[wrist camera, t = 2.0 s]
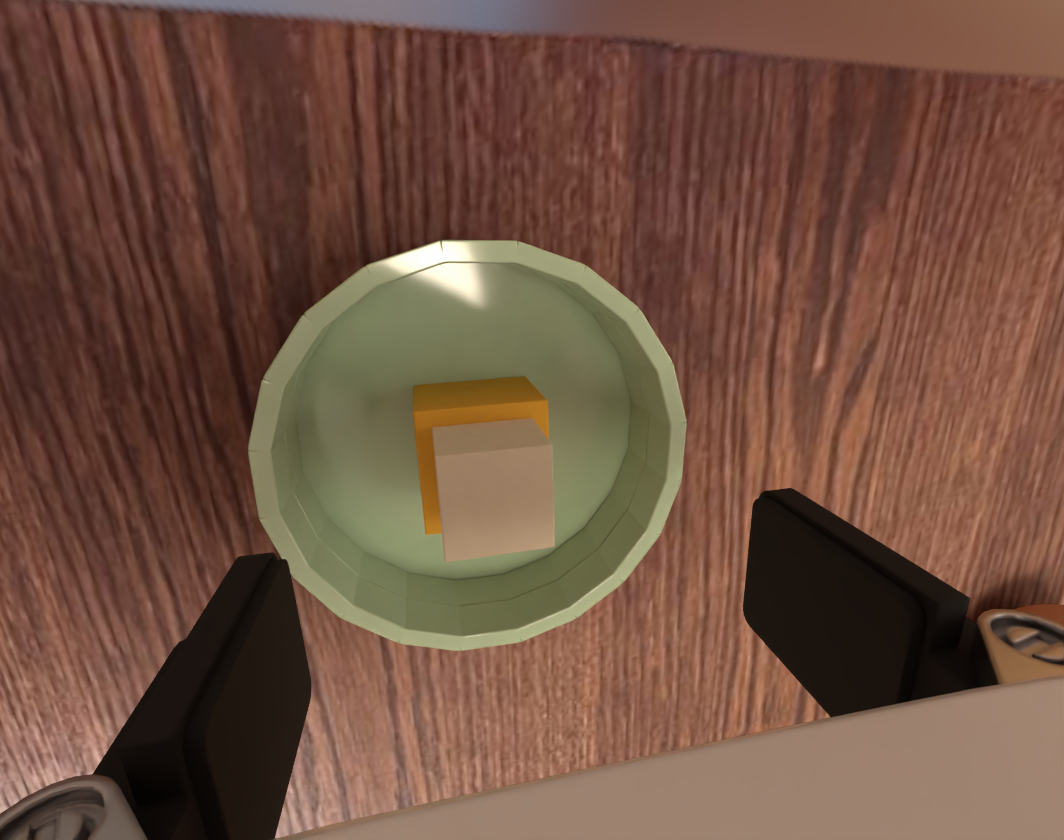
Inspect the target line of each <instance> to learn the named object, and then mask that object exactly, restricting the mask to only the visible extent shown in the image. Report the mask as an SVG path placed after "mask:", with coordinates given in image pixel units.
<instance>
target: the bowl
mask: <svg viewBox="0 0 1064 840" xmlns="http://www.w3.org/2000/svg"><path fill="white" fill-rule="evenodd" d="M523 376H525V377H526V378H527V379H528V380H529V381H530V382H531V383H532V384H533V385H534V386H535V387H536V388H537V389H538V390H539V392H540V393H541V394H542V395H543V396H544V397H545V398H546V399H547V400H548V417H549V441H550V443H551V444H552V449H553V490H554V532H555V546H554V547H551V548H544V549H537V550H530V551H523V552H515V553H508V554H501V555H494V556H487V557H480V558H473V559H466V560H459V561H452V562H445V561H444V551H443V540H442V533H440V534H432V535H426V533H425V525H424V515H423V506H422V496H421V487H420V477H419V468H418V458H417V449H416V439H415V430H414V420H413V387H414V385H422V384H435V383H447V382H460V381H473V380H485V379H498V378H511V377H523ZM685 436H686V417H685V412H684V408H683V404H682V399H681V395H680V391H679V386H678V382H677V378H676V373H675V369H674V365H673V363H672V360H671V358H670V356H669V355H668V353H667V352H666V350H665V348H664V347H663V345H662V344H661V342H660V340H659V339H658V337H657V336H656V334H655V332H654V331H653V329H652V327H651V326H650V324H649V323H648V321H647V319H646V318H645V316H644V315H643V313H642V311H641V310H640V309H639V308H638V306H637V305H635V304H634V303H633V302H632V301H630V300H629V299H628V298H627V297H625V296H624V295H623V294H622V293H620V292H619V291H618V290H617V289H616V288H614V287H613V286H612V285H611V284H609V283H608V282H607V281H606V280H604V279H603V278H602V277H601V276H599V275H598V274H597V273H596V272H594V271H593V270H592V269H591V268H589V267H588V266H585V265H584V264H583V263H580V262H577V261H574V260H571V259H568V258H566V257H563V256H560V255H557V254H554V253H552V252H549V251H546V250H543V249H540V248H537V247H535V246H532V245H529V244H526V243H523V242H520V241H518V242H517V241H516V240H441V241H435V242H432V243H429V244H426V245H423V246H421V247H418V248H415V249H412V250H409V251H406V252H403V253H400V254H397V255H394V256H391V257H388V258H385V259H382V260H379V261H376V262H373V263H370V264H367V265H366V266H365V267H362V268H361V269H360V270H358V271H357V272H356V273H354V274H353V275H352V276H351V277H349V278H348V279H347V280H345V281H344V282H343V283H342V284H340V285H339V286H338V287H336V288H335V289H334V290H333V291H331V292H330V293H329V294H328V295H326V296H325V297H324V298H322V299H321V300H320V301H319V302H317V303H316V304H315V305H313V306H312V307H311V308H310V309H308V310H307V311H306V312H305V313H304V315H302V316H301V317H300V319H299V320H298V322H297V324H296V325H295V327H294V328H293V330H292V332H291V333H290V335H289V336H288V338H287V340H286V341H285V343H284V344H283V346H282V348H281V349H280V351H279V352H278V354H277V356H276V357H275V359H274V360H273V362H272V363H271V365H270V367H269V368H268V370H267V371H266V373H265V375H264V376H263V380H262V381H261V385H260V390H259V395H258V400H257V405H256V410H255V415H254V419H253V424H252V429H251V434H250V439H249V444H248V450H249V451H248V457H249V463H250V469H251V475H252V481H253V487H254V493H255V499H256V505H257V511H258V516H259V518H260V522H261V523H262V525H263V527H264V529H265V530H266V532H267V534H268V536H269V537H270V539H271V541H272V543H273V544H274V546H275V548H276V550H277V551H278V553H279V555H280V557H281V558H282V559H286V560H287V562H288V565H289V569H290V574H291V575H293V576H292V577H293V578H294V579H295V580H296V581H298V582H299V583H300V584H301V585H302V586H303V587H304V588H306V589H307V590H308V591H309V592H310V593H311V594H313V595H314V596H315V597H316V598H317V599H318V600H319V601H321V602H322V603H323V604H324V605H325V606H326V607H328V608H329V609H330V610H331V611H332V612H333V613H334V614H336V615H337V616H338V617H339V618H342V619H343V620H345V621H348V622H350V623H352V624H355V625H357V626H359V627H362V628H364V629H366V630H369V631H371V632H373V633H376V634H378V635H380V636H383V637H385V638H387V639H390V640H392V641H394V642H396V643H398V642H399V644H405V645H413V646H421V647H429V648H438V649H446V650H454V651H460V650H461V651H464V650H471V649H478V648H485V647H492V646H499V645H506V644H513V643H519V642H520V641H521V642H522V641H525V640H527V639H530V638H532V637H534V636H537V635H539V634H541V633H544V632H546V631H549V630H551V629H553V628H556V627H558V626H560V625H563V624H565V623H568V622H570V621H572V620H574V619H575V617H576V618H578V617H579V616H581V615H582V614H583V613H585V612H586V611H587V610H588V609H590V608H591V607H592V606H594V605H595V604H596V603H598V602H599V601H600V600H602V599H603V598H604V597H605V596H607V595H608V594H609V593H611V592H612V591H613V590H615V589H616V588H617V587H619V586H620V585H621V584H622V583H623V582H624V581H625V580H626V579H627V578H628V576H629V575H630V574H631V572H632V571H633V570H634V569H635V567H636V566H637V565H638V563H639V562H640V561H641V559H642V558H643V557H644V556H645V554H646V553H647V552H648V550H649V549H650V548H651V546H652V545H653V544H654V543H655V541H656V540H657V539H658V537H659V536H658V535H660V534H661V531H662V529H663V526H664V524H665V522H666V519H667V517H668V514H669V512H670V509H671V507H672V504H673V502H674V499H675V497H676V494H677V492H678V489H679V487H680V484H681V480H682V470H683V458H684V447H685Z"/></svg>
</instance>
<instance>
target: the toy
mask: <svg viewBox="0 0 1064 840" xmlns="http://www.w3.org/2000/svg"><path fill="white" fill-rule="evenodd" d="M413 420H414V430H415V439H416V449H417V458H418V468H419V477H420V487H421V496H422V506H423V515H424V525H425V533H426V535H432V534H440V533H442V540H443V551H444V561H445V562H452V561H459V560H466V559H473V558H480V557H487V556H494V555H501V554H508V553H515V552H523V551H530V550H537V549H544V548H551V547H554V546H555V532H554V490H553V449H552V444H551V443H550V441H549V417H548V400H547V399H546V398H545V397H544V396H543V395H542V394H541V393H540V392H539V390H538V389H537V388H536V387H535V386H534V385H533V384H532V383H531V382H530V381H529V380H528V379H527V378H526V377H525V376H523V377H511V378H498V379H485V380H473V381H460V382H447V383H435V384H422V385H414V387H413Z"/></svg>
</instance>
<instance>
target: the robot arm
mask: <svg viewBox="0 0 1064 840" xmlns="http://www.w3.org/2000/svg"><path fill="white" fill-rule="evenodd" d="M969 602H970V598H969V597H967V596H966V595H964V594H963V593H961V592H959V591H958V590H956V589H954V588H953V587H951V586H950V585H948V584H946V583H945V582H943V581H942V580H940V579H938V578H937V577H935V576H933V575H932V574H930V573H929V572H927V571H925V570H924V569H922V568H920V567H919V566H917V565H916V564H914V563H912V562H911V561H909V560H908V559H906V558H904V557H903V556H901V555H899V554H898V553H896V552H895V551H893V550H891V549H890V548H888V547H886V546H885V545H883V544H882V543H880V542H878V541H877V540H875V539H874V538H872V537H870V536H869V535H867V534H865V533H864V532H862V531H861V530H859V529H857V528H856V527H854V526H852V525H851V524H849V523H848V522H846V521H844V520H843V519H841V518H840V517H838V516H836V515H835V514H833V513H831V512H830V511H828V510H827V509H825V508H823V507H822V506H820V505H818V504H817V503H815V502H814V501H812V500H810V499H809V498H807V497H806V496H804V495H802V494H801V493H799V492H797V491H796V490H794V489H791V488H787V489H779V490H771V491H764V492H763V493H761V495H760V497H759V499H757V500H755V502H754V503H753V508H752V519H751V529H750V540H749V550H748V560H747V571H746V581H745V591H744V602H743V612H744V616H745V619H746V621H747V623H748V624H749V626H750V627H751V628H752V629H753V630H754V631H755V633H756V634H757V635H758V636H759V637H760V638H761V639H762V640H763V642H764V643H765V644H766V645H767V646H768V647H769V648H770V649H771V651H772V652H773V653H774V654H775V655H776V656H777V657H778V658H779V659H780V661H781V662H782V663H783V664H784V665H785V666H786V667H787V668H788V670H789V671H790V672H791V673H792V674H793V675H794V676H795V677H796V679H797V680H798V681H799V682H800V683H801V684H802V685H803V686H804V687H805V689H806V690H807V691H808V692H809V693H810V694H811V695H812V696H813V698H814V699H815V700H816V701H817V702H818V703H819V704H820V705H821V707H822V708H823V709H824V710H825V711H826V712H827V713H828V714H829V716H830V717H831V718H826V719H821V720H816V721H811V722H806V723H801V724H796V725H791V726H787V727H782V728H777V729H772V730H767V731H762V732H758V733H753V734H748V735H743V736H738V737H734V738H729V739H724V740H719V741H715V742H710V743H705V744H700V745H696V746H691V747H686V748H681V749H677V750H672V751H667V752H662V753H658V754H653V755H648V756H644V757H639V758H634V759H629V760H625V761H620V762H615V763H611V764H606V765H601V766H596V767H592V768H587V769H582V770H578V771H573V772H569V773H564V774H559V775H555V776H550V777H546V778H541V779H537V780H532V781H527V782H523V783H518V784H514V785H509V786H504V787H500V788H495V789H491V790H486V791H481V792H477V793H472V794H468V795H463V796H458V797H454V798H449V799H445V800H440V801H436V802H431V803H426V804H422V805H417V806H413V807H408V808H404V809H399V810H395V811H390V812H386V813H381V814H377V815H372V816H368V817H363V818H359V819H354V820H350V821H345V822H341V823H336V824H332V825H328V826H324V827H320V828H316V829H312V830H308V831H304V832H300V833H297V834H293V835H289V836H285V837H281V838H277V839H275V835H276V831H277V827H278V823H279V819H280V816H281V812H282V808H283V804H284V800H285V796H286V792H287V788H288V784H289V781H290V777H291V773H292V769H293V765H294V761H295V757H296V753H297V750H298V746H299V742H300V738H301V734H302V730H303V726H304V722H305V719H306V715H307V711H308V707H309V703H310V698H311V677H310V672H309V667H308V662H307V657H306V652H305V646H304V641H303V636H302V631H301V626H300V621H299V615H298V610H297V605H296V600H295V595H294V590H293V585H292V579H291V574H290V569H289V565H288V562H287V560H286V559H280V560H277V557H276V555H275V554H274V553H273V552H272V553H264V554H256V555H248V556H240V557H238V558H237V559H236V560H235V562H234V563H233V565H232V567H231V568H230V570H229V571H228V573H227V575H226V576H225V578H224V579H223V581H222V582H221V584H220V586H219V587H218V589H217V590H216V592H215V594H214V595H213V597H212V598H211V600H210V602H209V603H208V605H207V606H206V608H205V610H204V611H203V613H202V614H201V616H200V618H199V619H198V621H197V622H196V624H195V625H194V627H193V629H192V630H191V632H190V633H189V635H188V637H187V638H186V639H185V640H182V641H180V642H179V643H178V644H177V645H176V646H175V648H174V649H173V650H172V652H171V653H170V655H169V657H168V658H167V660H166V661H165V663H164V664H163V666H162V667H161V669H160V671H159V672H158V674H157V675H156V677H155V678H154V680H153V681H152V683H151V684H150V686H149V688H148V689H147V691H146V692H145V694H144V695H143V697H142V698H141V700H140V702H139V703H138V705H137V706H136V708H135V709H134V711H133V712H132V714H131V716H130V717H129V719H128V720H127V722H126V723H125V725H124V726H123V728H122V729H121V731H120V733H119V734H118V736H117V737H116V739H115V740H114V742H113V743H112V745H111V747H110V748H109V750H108V751H107V753H106V754H105V756H104V757H103V759H102V761H101V762H100V764H99V765H98V767H97V768H96V770H95V771H94V773H93V774H92V775H83V776H75V777H72V778H69V779H66V780H63V781H59V782H56V783H53V784H51V785H49V786H47V787H45V788H43V789H41V790H39V791H37V792H35V793H33V794H31V795H29V796H27V797H25V798H23V799H22V800H20V801H19V802H17V803H16V804H14V805H13V806H11V807H10V808H8V809H7V810H5V811H4V812H2V813H1V814H0V840H1064V625H1063V624H1061V623H1058V622H1056V621H1053V620H1050V619H1048V618H1045V617H1042V616H1039V615H1035V614H1032V613H1028V612H1024V611H1017V610H1011V609H992V610H989V611H985V612H983V613H982V614H981V615H980V616H979V617H978V620H977V624H976V623H974V622H973V621H971V620H970V619H968V618H967V617H966V614H967V610H968V606H969Z"/></svg>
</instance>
